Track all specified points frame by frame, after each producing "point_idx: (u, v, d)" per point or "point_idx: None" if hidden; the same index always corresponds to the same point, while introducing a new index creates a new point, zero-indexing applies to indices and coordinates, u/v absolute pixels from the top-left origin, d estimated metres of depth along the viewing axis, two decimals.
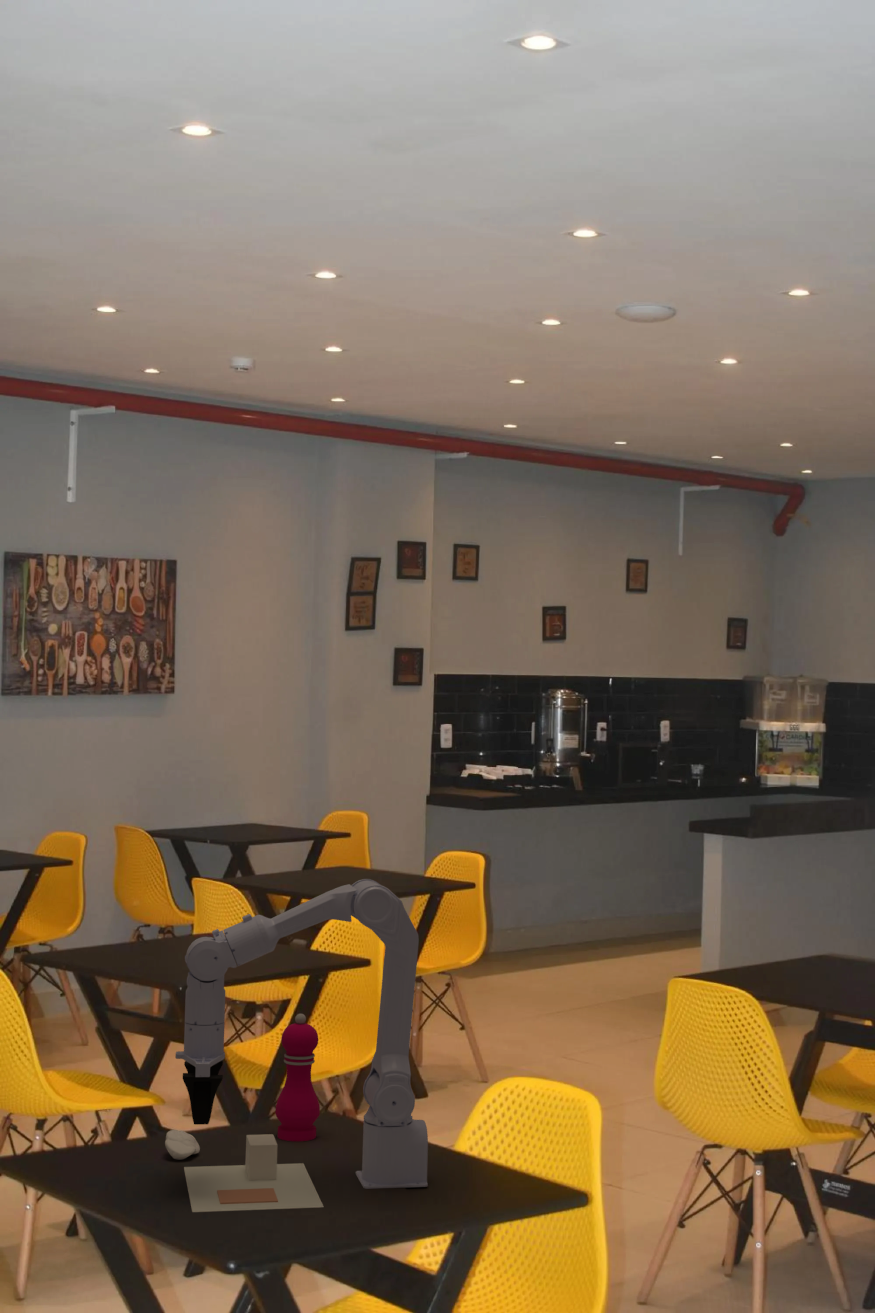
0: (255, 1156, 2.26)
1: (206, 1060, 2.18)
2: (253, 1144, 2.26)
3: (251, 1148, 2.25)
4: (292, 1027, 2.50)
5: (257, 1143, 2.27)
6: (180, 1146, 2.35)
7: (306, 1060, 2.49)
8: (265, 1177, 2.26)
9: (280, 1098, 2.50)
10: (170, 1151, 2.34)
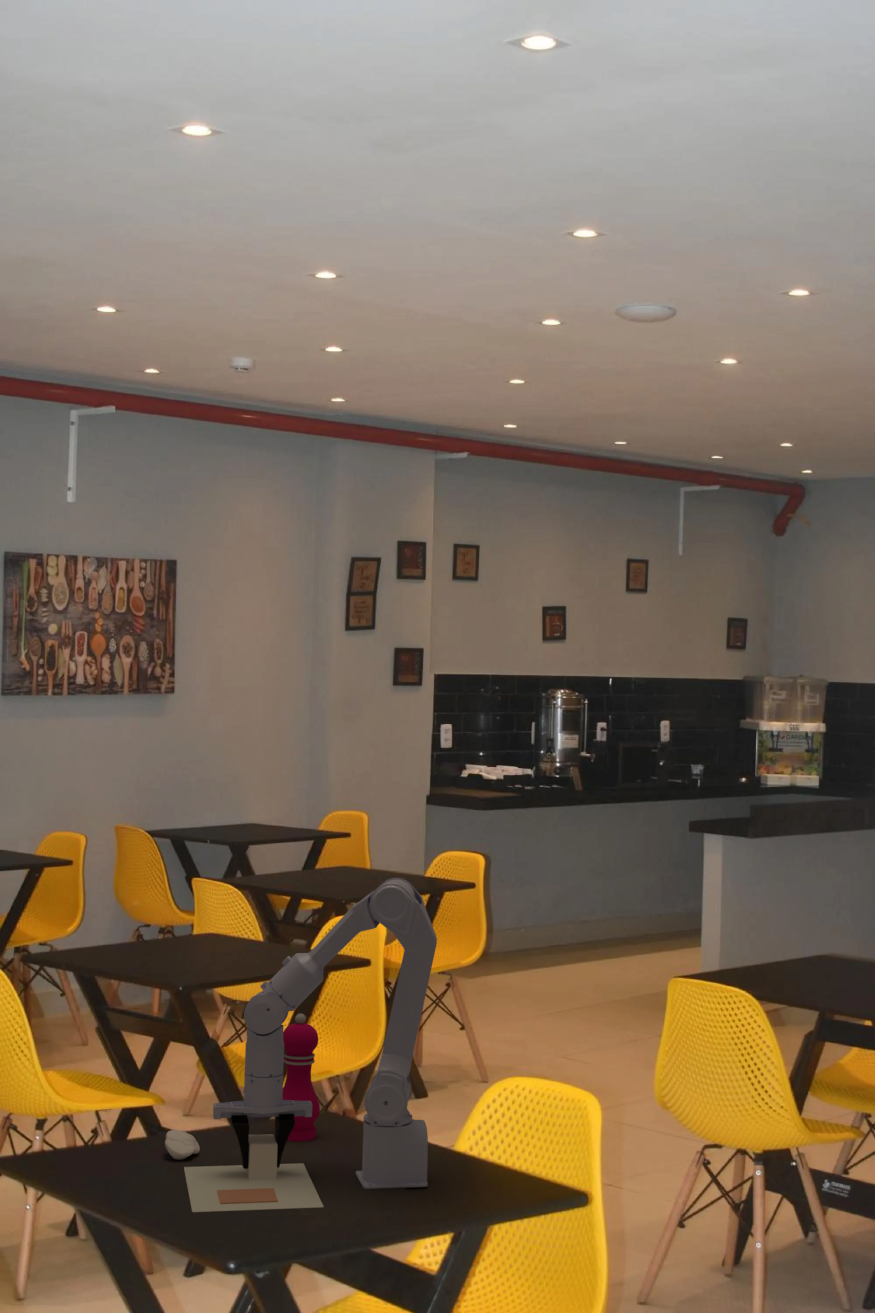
0: (255, 1156, 2.26)
1: (231, 1105, 2.28)
2: (253, 1144, 2.26)
3: (251, 1148, 2.25)
4: (292, 1027, 2.50)
5: (257, 1143, 2.27)
6: (180, 1146, 2.35)
7: (306, 1060, 2.49)
8: (265, 1177, 2.26)
9: None
10: (170, 1151, 2.34)
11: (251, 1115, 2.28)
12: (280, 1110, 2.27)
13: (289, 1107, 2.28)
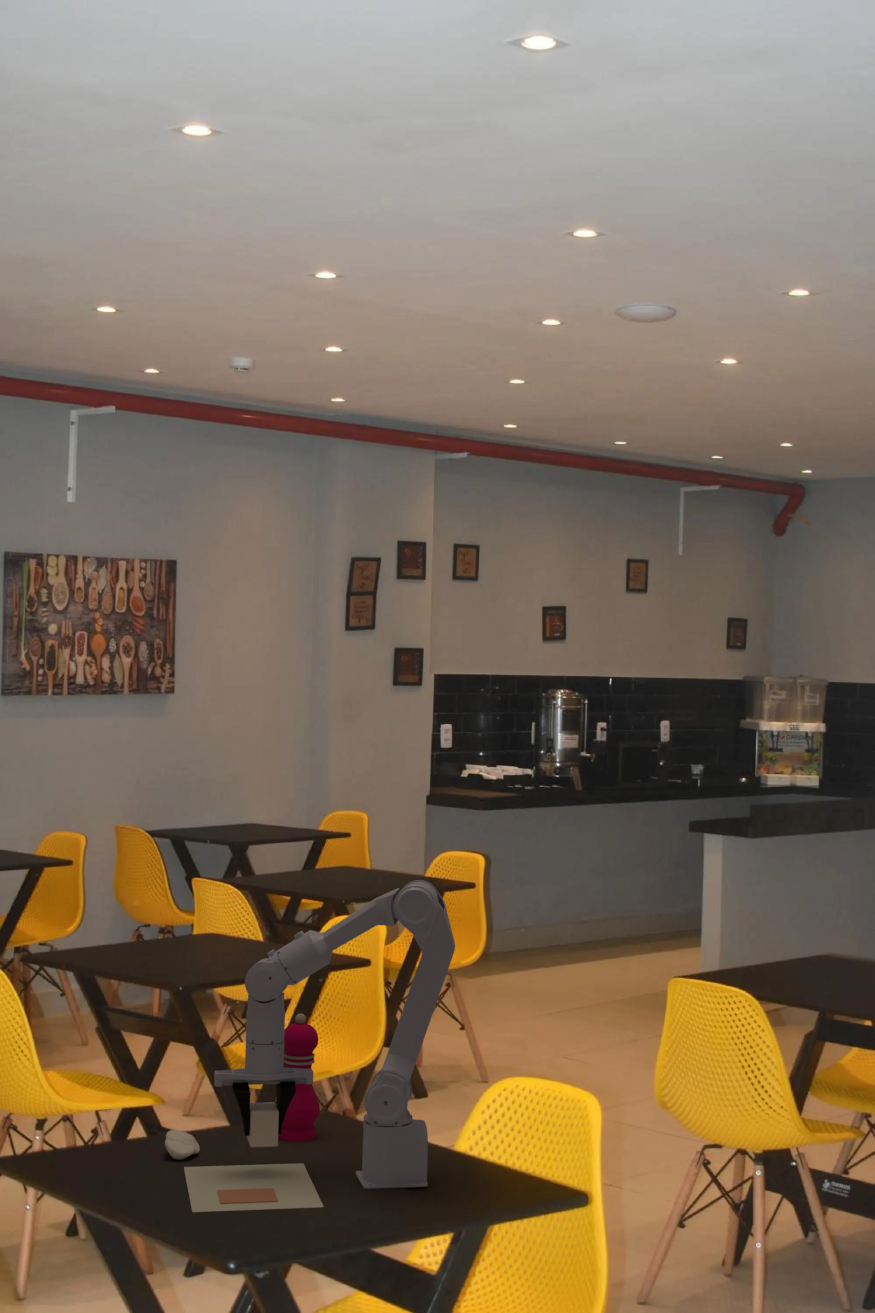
0: (256, 1123, 2.26)
1: (232, 1073, 2.28)
2: (254, 1111, 2.26)
3: (252, 1115, 2.26)
4: (292, 1027, 2.50)
5: (258, 1110, 2.27)
6: (180, 1146, 2.35)
7: (306, 1060, 2.49)
8: (266, 1144, 2.26)
9: None
10: (170, 1151, 2.34)
11: (252, 1082, 2.29)
12: (282, 1077, 2.28)
13: (290, 1074, 2.28)
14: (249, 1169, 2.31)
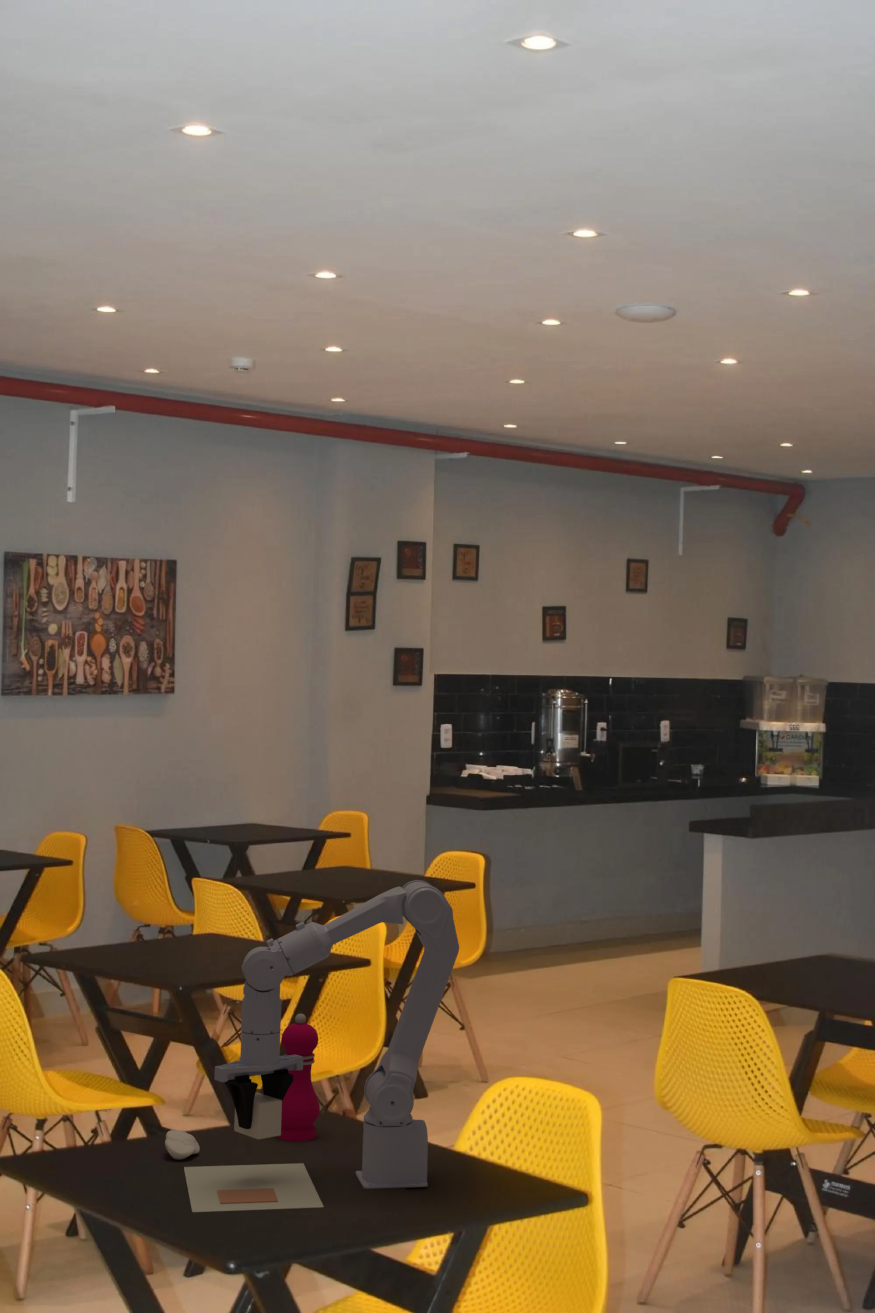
0: (263, 1114, 2.22)
1: (235, 1066, 2.22)
2: (260, 1102, 2.22)
3: (260, 1106, 2.22)
4: (292, 1027, 2.50)
5: (261, 1101, 2.23)
6: (180, 1146, 2.35)
7: (306, 1060, 2.49)
8: (271, 1134, 2.23)
9: None
10: (170, 1151, 2.34)
11: (251, 1074, 2.24)
12: (282, 1065, 2.25)
13: (288, 1062, 2.26)
14: (249, 1169, 2.31)
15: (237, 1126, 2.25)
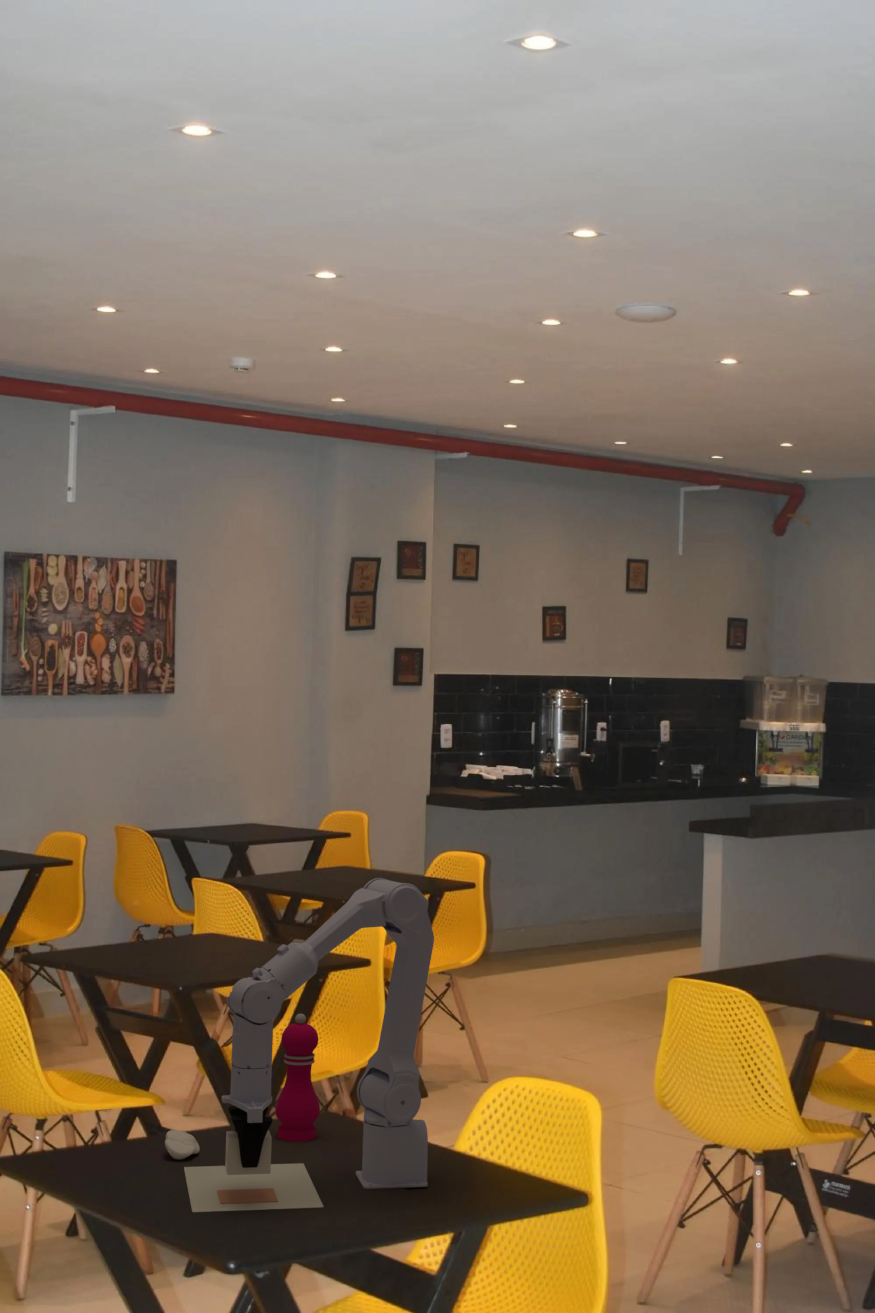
0: None
1: (257, 1105, 2.13)
2: (267, 1136, 2.17)
3: (271, 1140, 2.16)
4: (292, 1027, 2.50)
5: None
6: (180, 1146, 2.35)
7: (306, 1060, 2.49)
8: None
9: (280, 1098, 2.50)
10: (170, 1151, 2.34)
11: None
12: None
13: None
14: None
15: (233, 1169, 2.15)
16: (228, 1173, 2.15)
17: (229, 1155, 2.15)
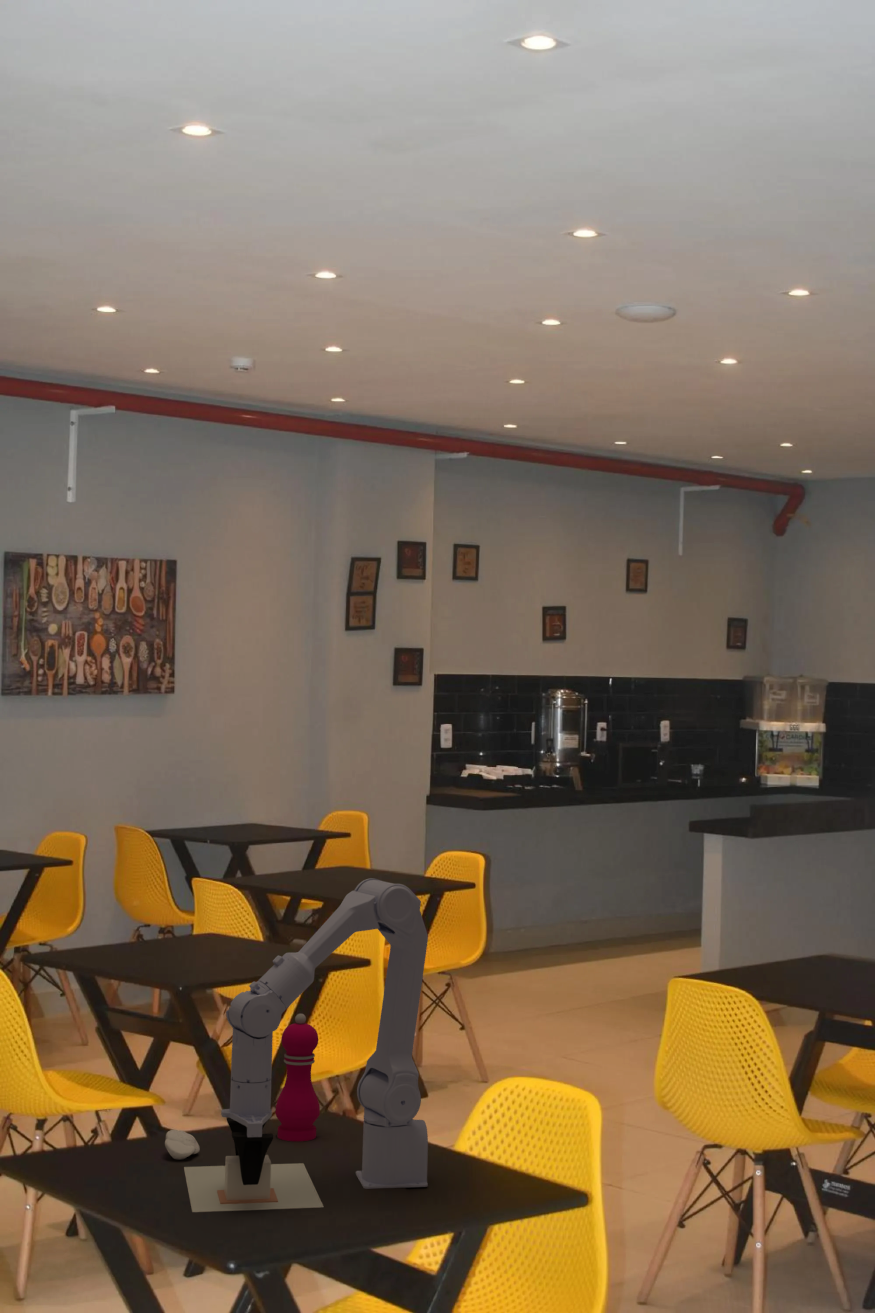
0: None
1: (256, 1119, 2.13)
2: (266, 1161, 2.17)
3: (270, 1165, 2.16)
4: (292, 1027, 2.50)
5: None
6: (180, 1146, 2.35)
7: (306, 1060, 2.49)
8: None
9: (280, 1098, 2.50)
10: (170, 1151, 2.34)
11: None
12: None
13: None
14: None
15: (232, 1194, 2.15)
16: (227, 1198, 2.15)
17: (228, 1180, 2.15)
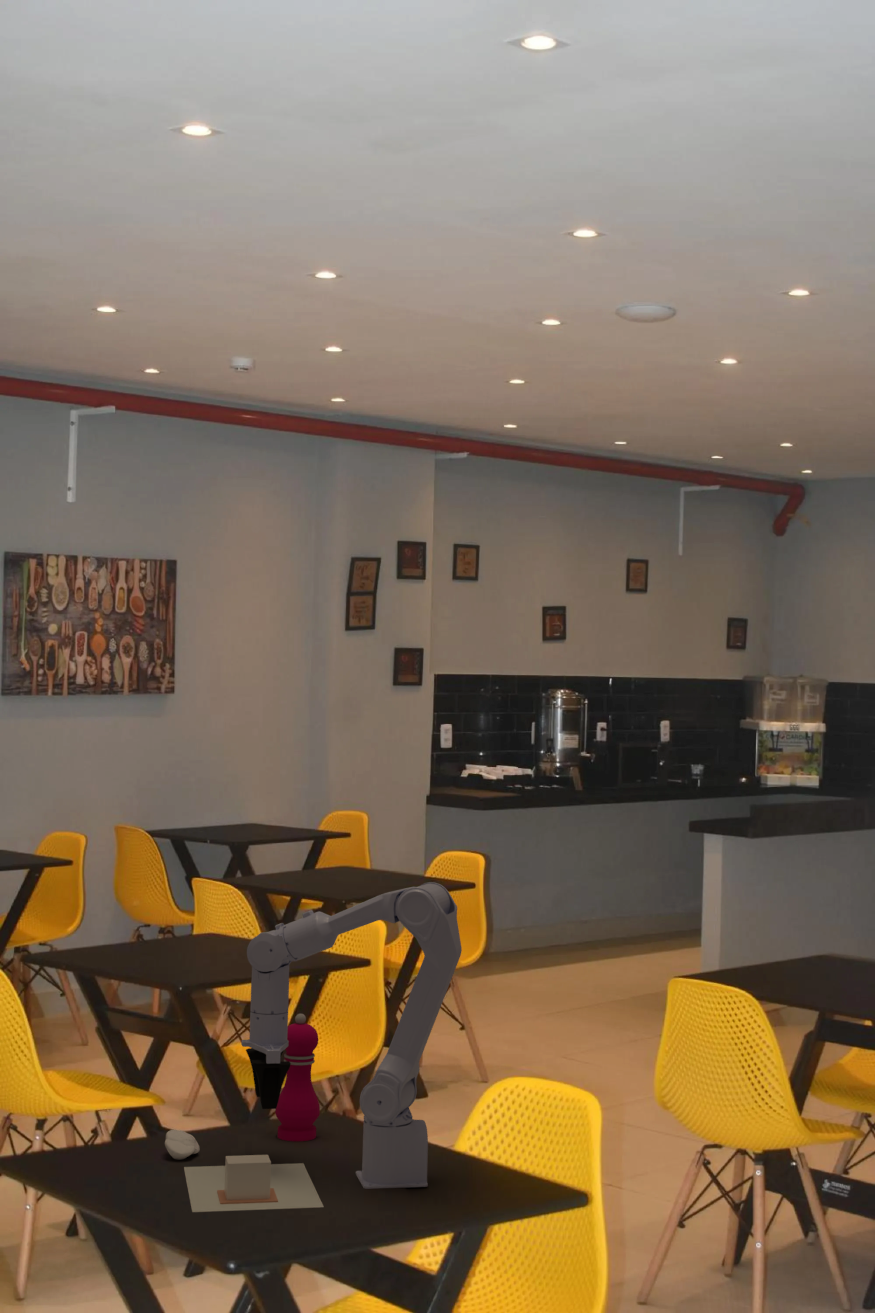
0: None
1: (274, 1047, 2.29)
2: (266, 1161, 2.17)
3: (270, 1165, 2.16)
4: (292, 1027, 2.50)
5: (262, 1160, 2.17)
6: (180, 1146, 2.35)
7: (306, 1060, 2.49)
8: None
9: (280, 1098, 2.50)
10: (170, 1151, 2.34)
11: None
12: None
13: None
14: None
15: (232, 1194, 2.15)
16: (227, 1198, 2.15)
17: (228, 1180, 2.15)
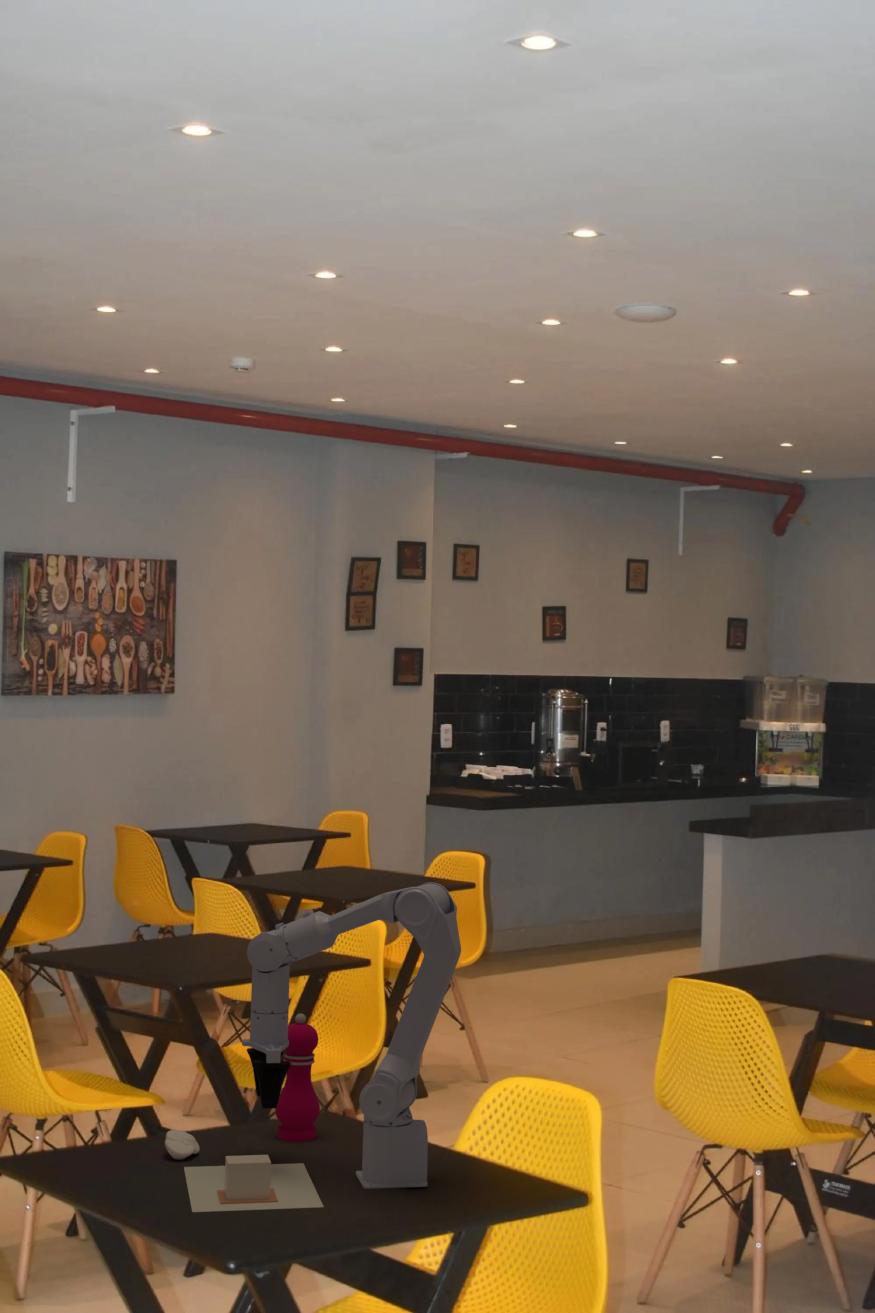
0: None
1: (275, 1047, 2.29)
2: (266, 1161, 2.17)
3: (270, 1165, 2.16)
4: (292, 1027, 2.50)
5: (262, 1160, 2.17)
6: (180, 1146, 2.35)
7: (306, 1060, 2.49)
8: None
9: (280, 1098, 2.50)
10: (170, 1151, 2.34)
11: None
12: None
13: None
14: None
15: (232, 1194, 2.15)
16: (227, 1198, 2.15)
17: (228, 1180, 2.15)
